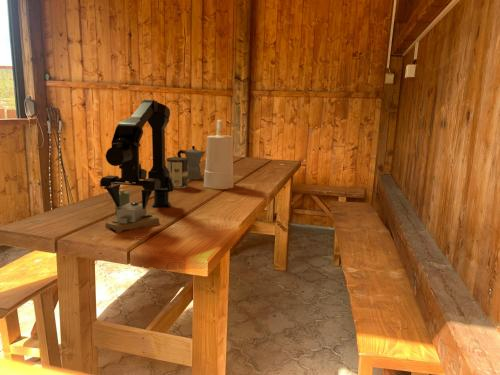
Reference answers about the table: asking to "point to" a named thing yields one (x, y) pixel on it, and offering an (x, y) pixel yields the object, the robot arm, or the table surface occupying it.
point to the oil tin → (122, 199)
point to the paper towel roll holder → (219, 161)
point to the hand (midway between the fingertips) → (131, 207)
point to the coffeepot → (192, 162)
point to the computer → (132, 224)
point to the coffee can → (178, 171)
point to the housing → (130, 212)
